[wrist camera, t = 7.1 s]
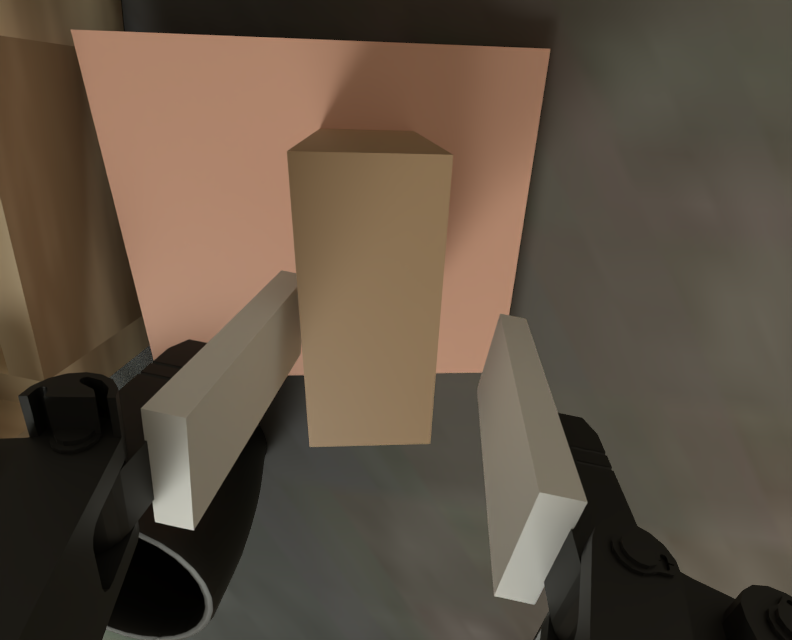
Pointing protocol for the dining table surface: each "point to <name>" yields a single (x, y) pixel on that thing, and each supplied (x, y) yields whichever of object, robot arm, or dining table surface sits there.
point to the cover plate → (240, 167)
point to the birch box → (56, 211)
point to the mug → (190, 559)
